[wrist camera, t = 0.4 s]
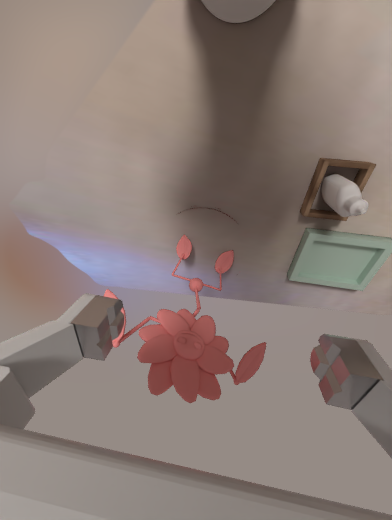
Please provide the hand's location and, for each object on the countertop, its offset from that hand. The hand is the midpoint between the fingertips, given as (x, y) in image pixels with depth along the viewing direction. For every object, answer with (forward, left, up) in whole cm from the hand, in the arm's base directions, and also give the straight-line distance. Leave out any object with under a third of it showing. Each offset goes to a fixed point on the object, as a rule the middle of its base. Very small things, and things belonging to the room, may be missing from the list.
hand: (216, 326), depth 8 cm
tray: (+17, +27, -38) cm, 49 cm away
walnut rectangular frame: (+2, +20, -38) cm, 42 cm away
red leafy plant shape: (+16, -2, -38) cm, 41 cm away
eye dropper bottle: (+2, +20, -38) cm, 43 cm away
